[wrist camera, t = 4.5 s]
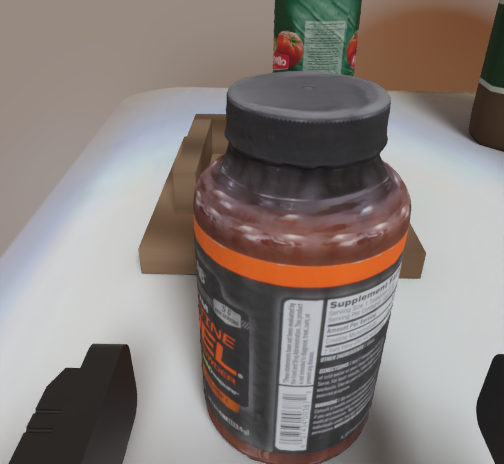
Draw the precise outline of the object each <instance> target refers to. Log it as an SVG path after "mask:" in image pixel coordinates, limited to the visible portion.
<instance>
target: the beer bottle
mask: <svg viewBox="0 0 504 464" xmlns="http://www.w3.org/2000/svg"><path fill="white" fill-rule="evenodd" d="M469 132H470V134H471V135H472V136H473V138H474V139H475V140H476V141H477V142H478V143H479V144H480V145H483V146H487V147H490V148H494V149H497V150H501V151H504V0H499V4H498V8H497V12H496V16H495V20H494V24H493V28H492V33H491V36H490V40H489V44H488V48H487V52H486V56H485V61H484V64H483V68H482V72H481V76H480V80H479V85H478V88H477V92H476V96H475V100H474V104H473V108H472V114H471V119H470V124H469Z"/></svg>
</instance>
